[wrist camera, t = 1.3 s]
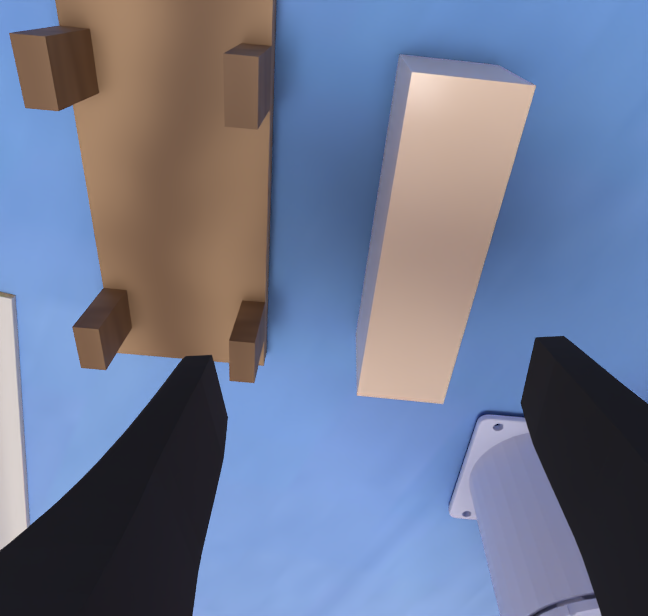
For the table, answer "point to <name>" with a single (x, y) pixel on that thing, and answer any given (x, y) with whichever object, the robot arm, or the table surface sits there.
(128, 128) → the rack
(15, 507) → the baseboard molding
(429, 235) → the beige rectangular block
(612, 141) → the table surface
